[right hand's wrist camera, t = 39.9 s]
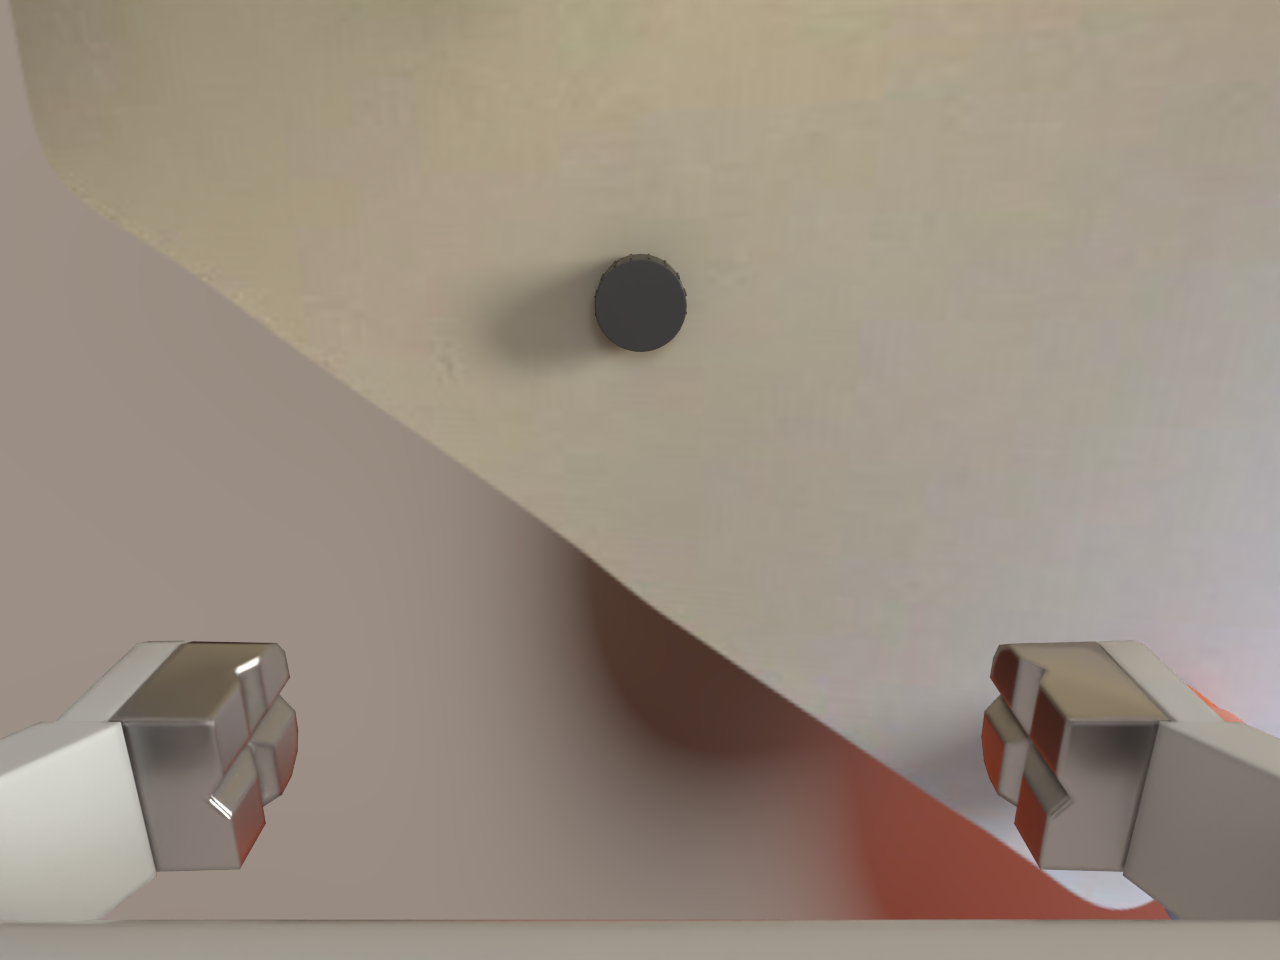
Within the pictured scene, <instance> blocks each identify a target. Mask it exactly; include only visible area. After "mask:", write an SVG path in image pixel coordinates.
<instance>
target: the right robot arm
mask: <svg viewBox="0 0 1280 960" xmlns="http://www.w3.org/2000/svg"><path fill="white" fill-rule="evenodd" d="M289 678H290V675H289V670H288V664H287V659H286V654H285V651H284V650H283V649H282V648H281V647H280V646H279V645H278V644H277V643H247V642H195V641H193V642H188V641H149V642H143V643H137V644H136V645H135V646H134V647H133V648H132V649H131V650H130V651H129V652H127V653H126V654H125V655H124V656H123V657H122V658H121V659H120V660H119V661H118V662H117V663H116V664H115V665H114V666H113V667H112V668H111V669H110V670H109V671H108V672H107V673H105V674H104V675H103V676H102V677H101V678H100V679H99V680H98V681H97V682H96V683H95V684H94V685H93V686H92V687H91V688H90V689H89V690H88V691H87V692H86V693H84V694H83V695H82V696H81V697H80V698H79V699H78V700H77V701H76V702H75V703H74V704H73V705H72V706H71V707H70V708H69V709H68V710H67V711H66V712H65V713H64V714H62V715H61V716H60V717H59V718H58V719H57V720H56V721H55V722H39V723H36V724H34V725H31V726H29V727H27V728H24V729H22V730H20V731H17V732H15V733H13V734H10V735H8V736H6V737H3V738H1V739H0V960H1280V739H1279V738H1277V737H1274V736H1272V735H1270V734H1267V733H1265V732H1263V731H1260V730H1258V729H1256V728H1253V727H1251V726H1248V725H1246V724H1244V723H1241V722H1225V721H1224V720H1223V719H1222V718H1221V717H1220V716H1219V715H1218V714H1217V713H1215V712H1214V711H1213V710H1212V709H1211V708H1210V707H1209V706H1208V705H1207V704H1206V703H1205V702H1204V701H1203V700H1202V699H1201V698H1200V697H1199V696H1198V695H1197V694H1196V693H1195V692H1194V691H1193V690H1191V689H1190V688H1189V687H1188V686H1187V685H1186V684H1185V683H1184V682H1183V681H1182V680H1181V679H1180V678H1179V677H1178V676H1177V675H1176V674H1175V673H1174V672H1173V671H1172V670H1171V669H1170V668H1168V667H1167V666H1166V665H1165V664H1164V663H1163V662H1162V661H1161V660H1160V659H1159V658H1158V657H1157V656H1156V655H1155V654H1154V653H1153V652H1152V651H1151V650H1150V649H1149V648H1148V647H1147V646H1146V645H1144V644H1142V643H1139V642H1136V641H1133V640H1129V641H1105V642H1062V643H1021V644H1004V645H999V647H998V649H997V651H996V653H995V655H994V657H993V663H992V668H991V674H990V678H991V680H992V681H993V683H994V684H995V686H996V687H997V689H998V690H999V692H1000V693H1001V695H1000V696H999V697H998V698H997V699H996V700H995V701H994V702H993V703H992V704H991V705H990V706H989V707H988V708H987V709H986V710H985V712H984V721H983V729H982V746H983V756H984V763H985V766H986V769H987V772H988V775H989V778H990V780H991V782H992V784H993V786H994V788H995V790H996V792H997V793H998V795H999V796H1001V797H1003V798H1004V799H1006V800H1007V801H1009V802H1010V803H1012V804H1013V805H1015V806H1016V807H1017V810H1016V816H1015V822H1014V824H1015V826H1016V827H1017V829H1018V831H1019V833H1020V834H1021V836H1022V838H1023V840H1024V841H1025V843H1026V845H1027V847H1028V848H1029V850H1030V852H1031V854H1032V855H1033V857H1034V859H1035V861H1036V862H1037V864H1038V866H1039V868H1040V869H1047V870H1083V871H1120V872H1124V873H1123V876H1125V877H1126V878H1127V879H1128V880H1130V881H1131V882H1132V883H1134V884H1135V885H1136V886H1138V887H1139V888H1140V889H1141V890H1143V891H1144V892H1145V893H1147V894H1148V895H1149V896H1151V897H1152V898H1153V899H1154V900H1156V901H1157V902H1158V903H1160V904H1161V905H1162V906H1164V907H1165V908H1166V909H1167V910H1169V911H1170V912H1171V913H1173V914H1174V915H1175V916H1177V917H1178V918H1179V919H1180V920H100V919H101V918H102V917H104V916H105V915H106V914H108V913H109V912H110V911H112V910H113V909H114V908H115V907H117V906H118V905H119V904H121V903H122V902H123V901H125V900H126V899H127V898H128V897H130V896H131V895H132V894H134V893H135V892H136V891H138V890H139V889H140V888H141V887H143V886H144V885H145V884H147V883H148V882H149V881H151V880H152V879H153V878H155V877H156V876H157V873H156V872H160V871H195V870H230V869H240V868H241V866H242V864H243V862H244V861H245V859H246V857H247V855H248V854H249V852H250V850H251V848H252V847H253V845H254V843H255V841H256V840H257V838H258V836H259V834H260V833H261V831H262V829H263V827H264V826H265V824H266V822H265V816H264V810H263V807H264V806H265V805H267V804H268V803H270V802H271V801H273V800H274V799H276V798H277V797H279V796H281V795H282V793H283V792H284V790H285V788H286V786H287V784H288V782H289V780H290V778H291V776H292V772H293V768H294V764H295V760H296V756H297V752H298V726H297V720H296V712H295V710H294V709H293V708H292V707H291V706H290V705H289V704H288V703H287V702H286V701H285V700H284V699H283V698H282V697H281V696H280V695H279V693H280V692H281V690H282V689H283V687H284V686H285V684H286V683H287V681H288V680H289Z"/></svg>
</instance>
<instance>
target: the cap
mask: <svg viewBox="0 0 1280 960" xmlns="http://www.w3.org/2000/svg"><path fill="white" fill-rule="evenodd" d="M685 296H687V295H686V291H685V289H683V286H682V283H681V281H680V277H679V274H678V272H677V273H676V272H675V271H674V269H673V268H672V267H671V266H670V265H669V264H667V262H666V260H664V261H663V260H661V259H659V258H657V257H654V256H651V255H650V254H648V255H645V254H637V255H632V254H630V256H627V257H624V258H622V259H620V260H618V261H617V262H616V261H615V262H614V264H613V265H612V266H611V267H610V268H609V269H608V270H607V271H606V272H605V274H603V275H602V277H601V282H600V285H599V288H598V290H596V294H595V298H596V300H595V312H596V313H595V316H596V317H597V320H598V323H599V325H600V327H601V329H602V331H603V332H604V334H605V335H606V336H607V337H608V338H609V339H610V340H611V341H612V342H613V343H615V344H616V345H618V346H620V347H622V348H624V349H627V350H630V351H637V352H644V351H651V350H655V349H657V348H660V347H662V346H664V345H665V344H667V343H668V342H669V341H671V340H672V339H673V338H674V337H675V336H676V334H677V333H678V332H679V330H680V329H681V326H682V324H683V322H684V319H685V315H686V314H687V312H686V306H687V305H686V297H685Z"/></svg>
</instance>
